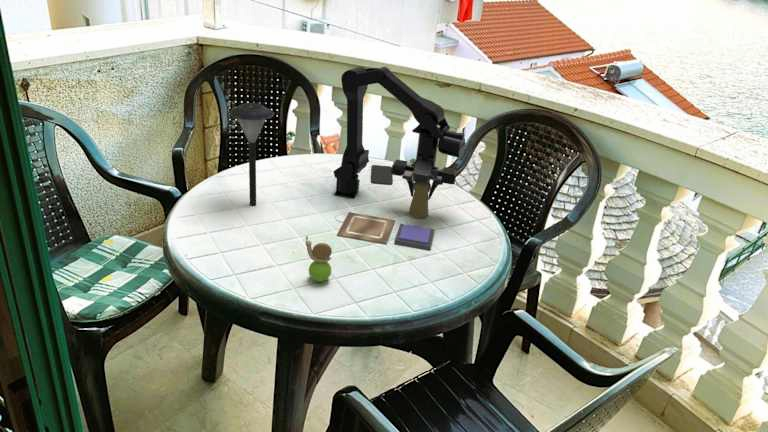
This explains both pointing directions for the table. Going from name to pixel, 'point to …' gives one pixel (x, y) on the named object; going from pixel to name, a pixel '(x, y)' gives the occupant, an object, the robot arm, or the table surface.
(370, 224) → the marked board
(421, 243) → the ink pad
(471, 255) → the table surface
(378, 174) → the phone
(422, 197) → the cork
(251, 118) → the solar garden light
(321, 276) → the snail figurine
